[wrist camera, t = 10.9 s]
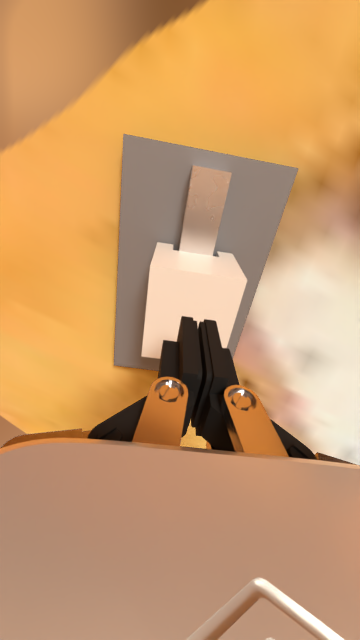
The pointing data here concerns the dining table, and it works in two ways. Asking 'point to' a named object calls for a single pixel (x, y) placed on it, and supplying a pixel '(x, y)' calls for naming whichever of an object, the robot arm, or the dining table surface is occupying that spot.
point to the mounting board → (167, 219)
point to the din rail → (203, 210)
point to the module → (190, 294)
